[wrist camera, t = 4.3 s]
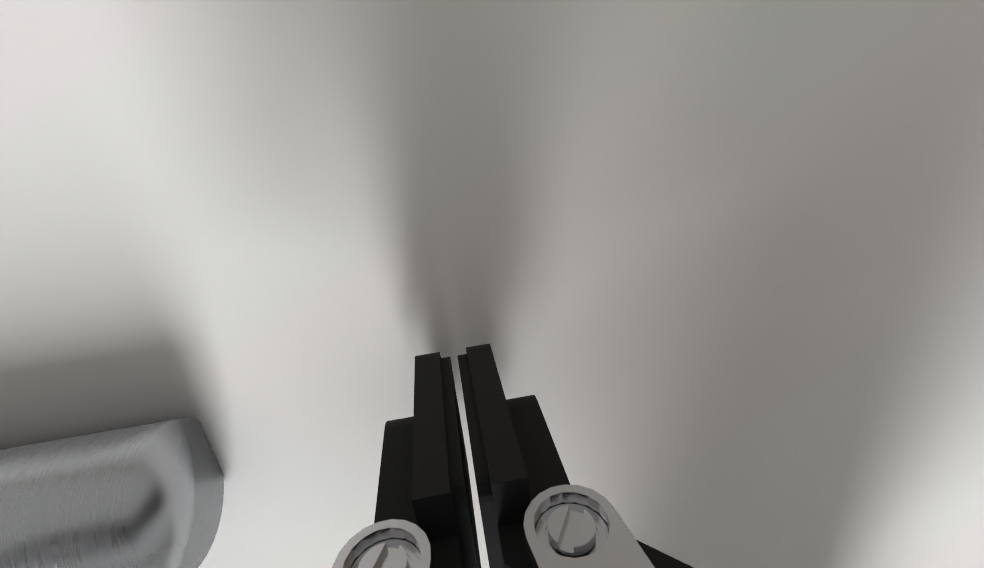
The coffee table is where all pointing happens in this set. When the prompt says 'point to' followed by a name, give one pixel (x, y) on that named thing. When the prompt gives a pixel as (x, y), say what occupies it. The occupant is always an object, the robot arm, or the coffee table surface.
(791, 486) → the coffee table surface
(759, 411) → the coffee table surface
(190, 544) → the axle
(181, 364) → the coffee table surface
